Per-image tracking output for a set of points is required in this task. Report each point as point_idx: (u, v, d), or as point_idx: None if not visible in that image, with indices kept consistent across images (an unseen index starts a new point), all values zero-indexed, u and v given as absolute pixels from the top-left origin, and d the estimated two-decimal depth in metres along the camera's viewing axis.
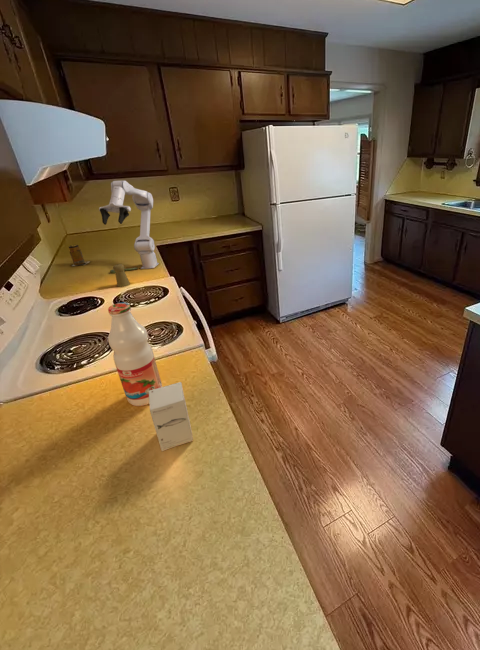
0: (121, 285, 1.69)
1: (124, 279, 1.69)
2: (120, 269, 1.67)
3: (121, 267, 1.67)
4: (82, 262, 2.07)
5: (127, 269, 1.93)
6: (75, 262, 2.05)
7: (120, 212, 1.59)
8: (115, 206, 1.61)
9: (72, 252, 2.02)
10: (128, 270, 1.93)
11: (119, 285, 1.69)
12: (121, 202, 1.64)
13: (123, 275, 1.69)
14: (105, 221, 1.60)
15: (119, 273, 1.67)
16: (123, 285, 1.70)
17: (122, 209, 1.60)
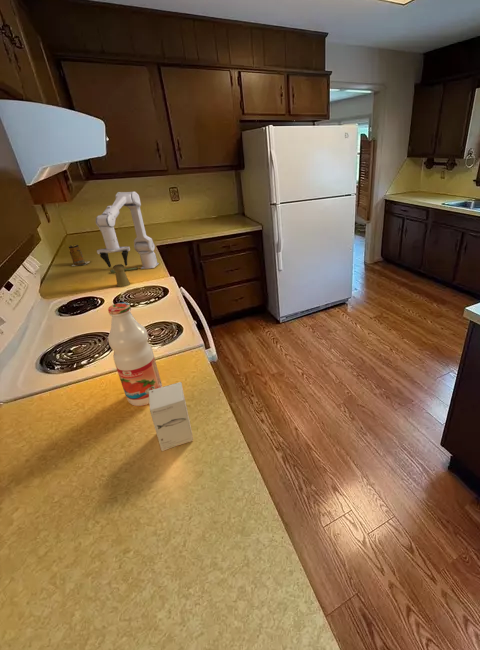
0: (121, 285, 1.69)
1: (124, 279, 1.69)
2: (120, 269, 1.67)
3: (121, 267, 1.67)
4: (82, 262, 2.07)
5: (127, 269, 1.93)
6: (75, 262, 2.05)
7: (124, 257, 1.65)
8: None
9: (72, 252, 2.02)
10: (128, 270, 1.93)
11: (119, 285, 1.69)
12: (117, 242, 1.63)
13: (123, 275, 1.69)
14: (110, 264, 1.67)
15: (119, 273, 1.67)
16: (123, 285, 1.70)
17: (125, 254, 1.64)
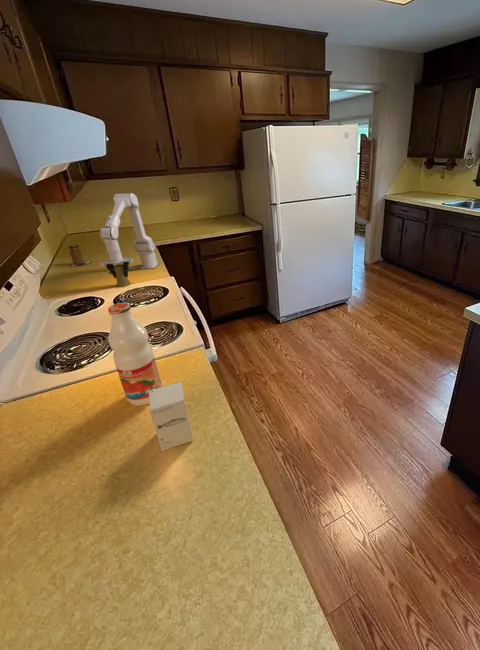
0: (121, 285, 1.69)
1: (124, 279, 1.69)
2: (120, 269, 1.67)
3: (121, 267, 1.67)
4: (82, 262, 2.07)
5: None
6: (75, 262, 2.05)
7: (125, 268, 1.67)
8: None
9: (72, 252, 2.02)
10: (128, 270, 1.93)
11: (119, 285, 1.69)
12: (120, 254, 1.65)
13: (123, 275, 1.69)
14: (115, 275, 1.69)
15: (119, 273, 1.67)
16: (123, 285, 1.70)
17: (126, 266, 1.67)
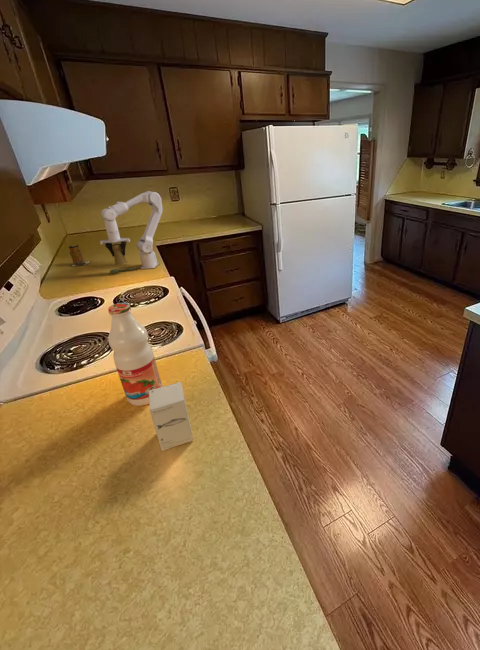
0: (118, 263, 1.84)
1: (121, 257, 1.84)
2: (118, 248, 1.82)
3: (119, 246, 1.82)
4: (82, 262, 2.07)
5: (127, 269, 1.93)
6: (75, 262, 2.05)
7: (122, 247, 1.83)
8: None
9: (72, 252, 2.02)
10: (128, 270, 1.93)
11: (117, 263, 1.84)
12: (118, 234, 1.81)
13: (121, 253, 1.84)
14: (113, 253, 1.84)
15: (117, 251, 1.82)
16: (120, 263, 1.84)
17: (123, 245, 1.82)
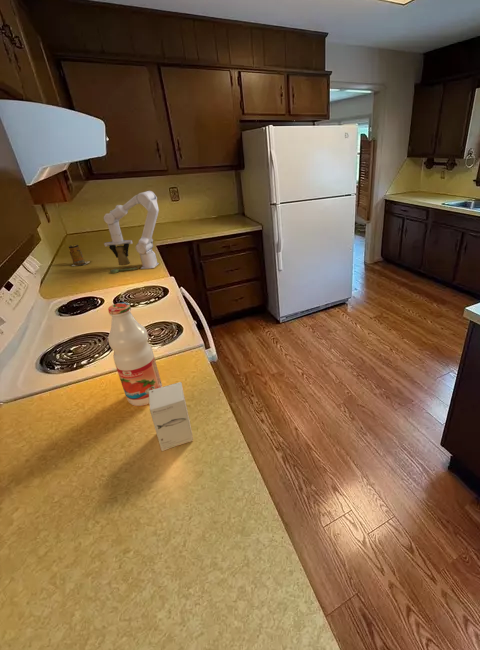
0: (122, 263, 1.95)
1: (125, 258, 1.95)
2: (121, 249, 1.92)
3: (122, 248, 1.93)
4: (82, 262, 2.07)
5: (127, 269, 1.93)
6: (75, 262, 2.05)
7: (125, 249, 1.93)
8: None
9: (72, 252, 2.02)
10: (128, 270, 1.93)
11: (120, 263, 1.95)
12: (121, 236, 1.91)
13: (124, 255, 1.95)
14: (117, 255, 1.95)
15: (120, 253, 1.93)
16: (124, 263, 1.95)
17: (126, 247, 1.92)
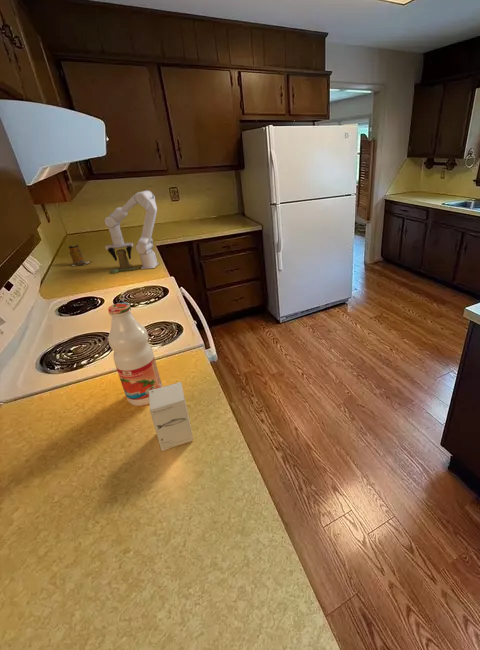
0: (123, 267, 1.96)
1: (126, 262, 1.96)
2: (122, 253, 1.93)
3: (123, 251, 1.94)
4: (82, 262, 2.07)
5: (127, 269, 1.93)
6: (75, 262, 2.05)
7: (128, 252, 1.94)
8: None
9: (72, 252, 2.02)
10: (128, 270, 1.93)
11: (121, 267, 1.96)
12: (122, 239, 1.92)
13: (125, 258, 1.96)
14: (116, 258, 1.96)
15: (121, 257, 1.94)
16: (125, 267, 1.96)
17: (129, 249, 1.94)
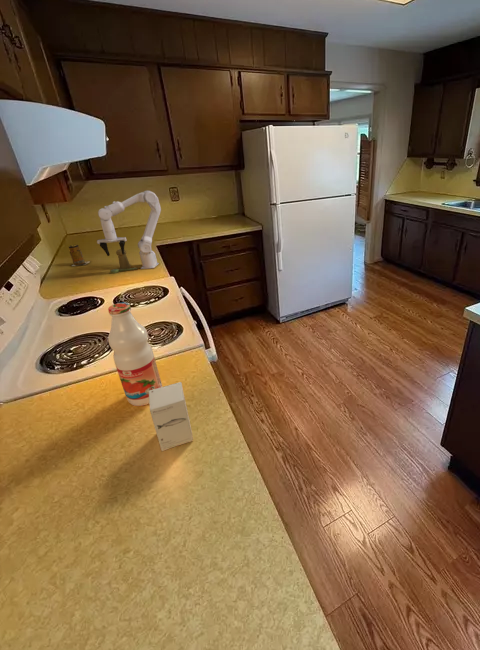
0: (123, 267, 1.96)
1: (126, 262, 1.96)
2: None
3: None
4: (82, 262, 2.07)
5: (127, 269, 1.93)
6: (75, 262, 2.05)
7: (121, 246, 1.84)
8: None
9: (72, 252, 2.02)
10: (128, 270, 1.93)
11: (121, 267, 1.96)
12: (115, 233, 1.82)
13: (125, 258, 1.96)
14: (108, 253, 1.85)
15: (121, 257, 1.94)
16: (125, 267, 1.96)
17: (122, 244, 1.83)
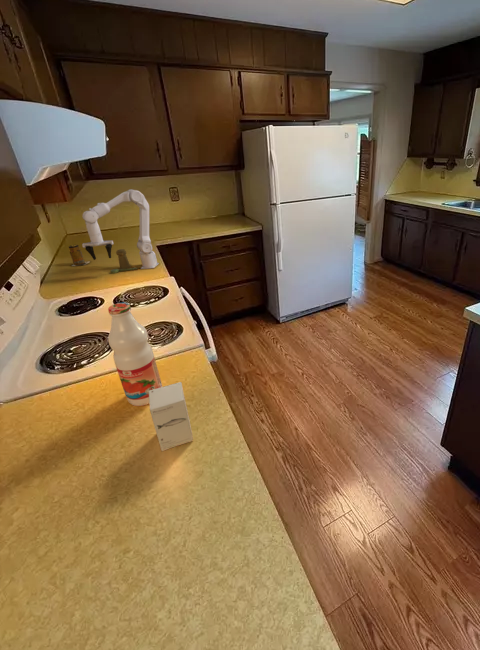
0: (123, 267, 1.96)
1: (126, 262, 1.96)
2: (122, 253, 1.93)
3: (123, 251, 1.94)
4: (82, 262, 2.07)
5: (127, 269, 1.93)
6: (75, 262, 2.05)
7: (107, 250, 1.78)
8: None
9: (72, 252, 2.02)
10: (128, 270, 1.93)
11: (121, 267, 1.96)
12: (101, 236, 1.76)
13: (125, 258, 1.96)
14: (94, 257, 1.80)
15: (121, 257, 1.94)
16: (125, 267, 1.96)
17: (108, 248, 1.78)
